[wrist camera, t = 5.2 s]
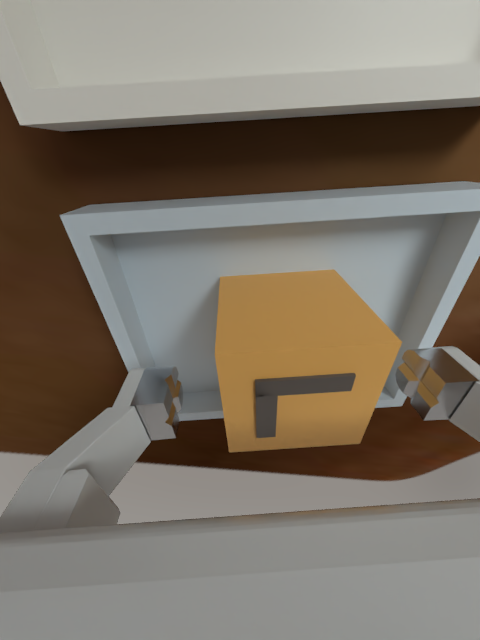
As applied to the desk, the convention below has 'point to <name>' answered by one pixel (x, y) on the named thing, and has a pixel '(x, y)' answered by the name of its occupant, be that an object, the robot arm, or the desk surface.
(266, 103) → the tray white
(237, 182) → the desk surface
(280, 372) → the letter cube
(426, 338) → the tray bluegrey
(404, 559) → the robot arm
